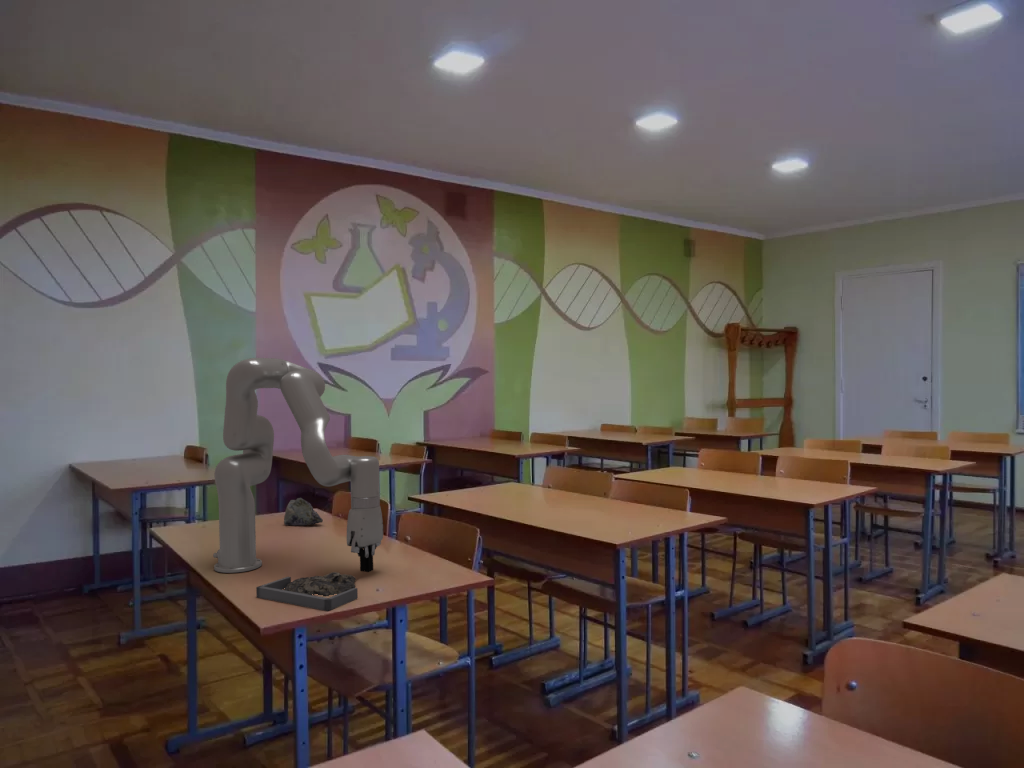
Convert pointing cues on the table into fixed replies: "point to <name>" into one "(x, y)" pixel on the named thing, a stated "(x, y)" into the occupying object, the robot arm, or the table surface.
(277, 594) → the frame
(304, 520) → the mineral rock
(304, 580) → the grey rough rock slab
